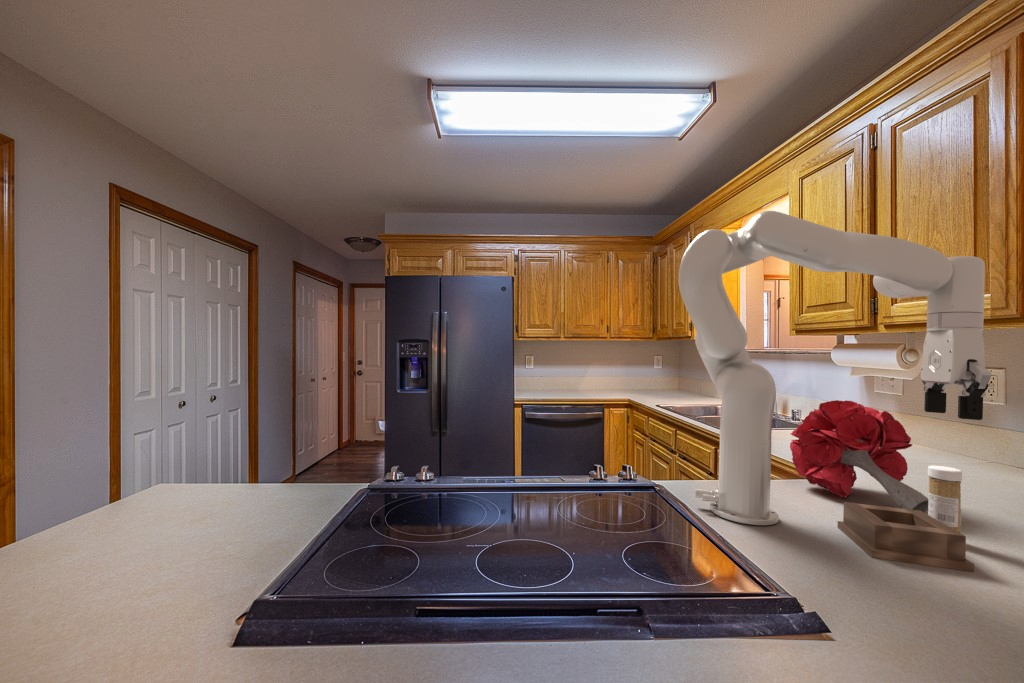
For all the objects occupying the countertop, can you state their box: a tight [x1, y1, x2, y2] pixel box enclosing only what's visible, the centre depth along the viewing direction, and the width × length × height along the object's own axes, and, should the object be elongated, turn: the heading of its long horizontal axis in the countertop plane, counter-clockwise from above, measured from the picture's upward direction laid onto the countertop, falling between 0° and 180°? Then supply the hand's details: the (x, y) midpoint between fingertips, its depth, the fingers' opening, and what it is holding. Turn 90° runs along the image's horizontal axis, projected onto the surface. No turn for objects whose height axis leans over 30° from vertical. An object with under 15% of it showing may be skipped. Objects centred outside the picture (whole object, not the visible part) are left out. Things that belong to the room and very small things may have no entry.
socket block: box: [837, 501, 975, 573], centre depth 79 cm, size 14×14×5 cm
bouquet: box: [789, 399, 928, 513], centre depth 106 cm, size 22×24×30 cm
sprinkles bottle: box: [927, 465, 963, 533], centre depth 82 cm, size 5×5×13 cm
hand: (951, 415), depth 83 cm, fingers open, 9 cm apart
